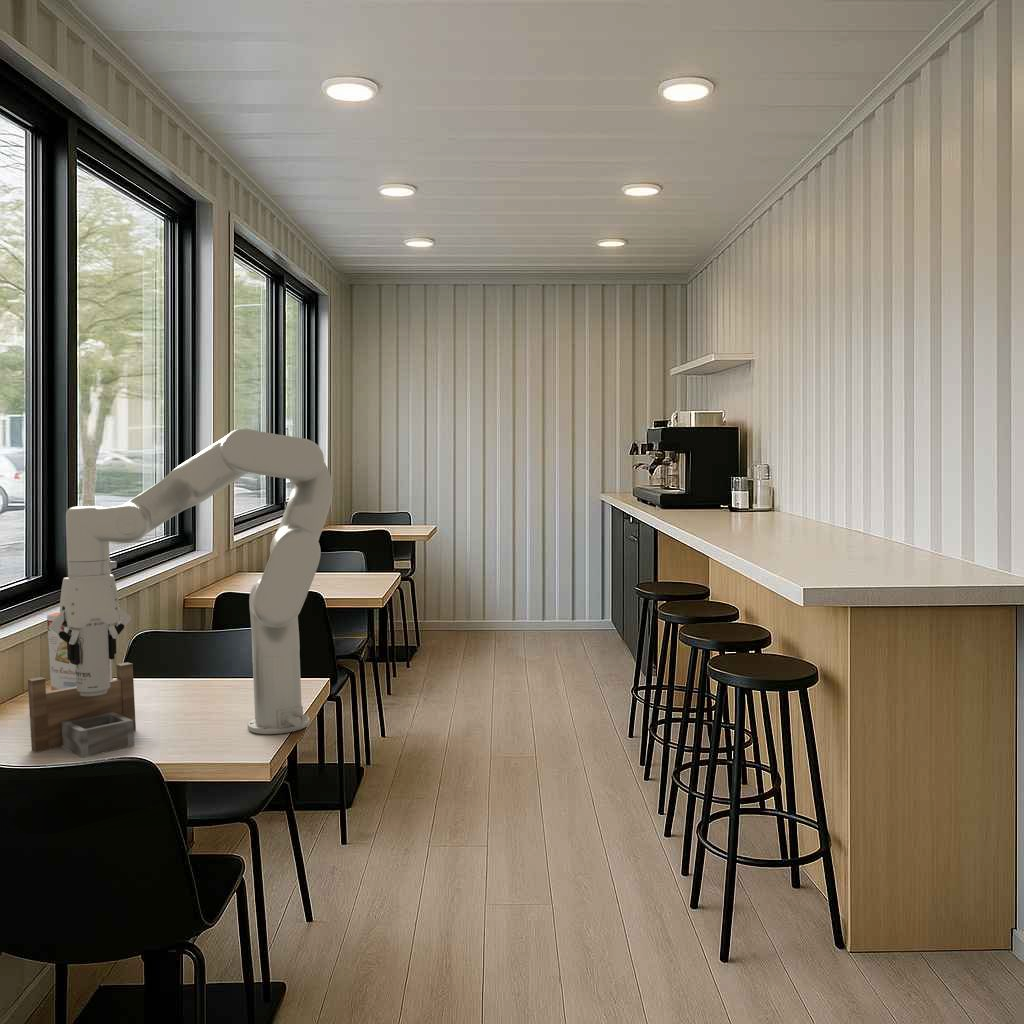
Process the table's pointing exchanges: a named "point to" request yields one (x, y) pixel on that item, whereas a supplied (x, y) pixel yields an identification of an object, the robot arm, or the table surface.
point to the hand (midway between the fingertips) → (92, 660)
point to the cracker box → (62, 660)
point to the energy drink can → (93, 659)
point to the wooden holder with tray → (83, 716)
